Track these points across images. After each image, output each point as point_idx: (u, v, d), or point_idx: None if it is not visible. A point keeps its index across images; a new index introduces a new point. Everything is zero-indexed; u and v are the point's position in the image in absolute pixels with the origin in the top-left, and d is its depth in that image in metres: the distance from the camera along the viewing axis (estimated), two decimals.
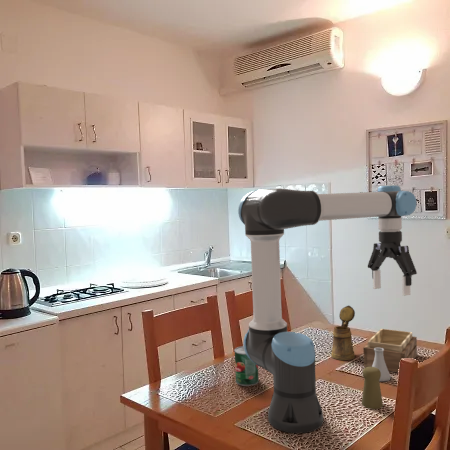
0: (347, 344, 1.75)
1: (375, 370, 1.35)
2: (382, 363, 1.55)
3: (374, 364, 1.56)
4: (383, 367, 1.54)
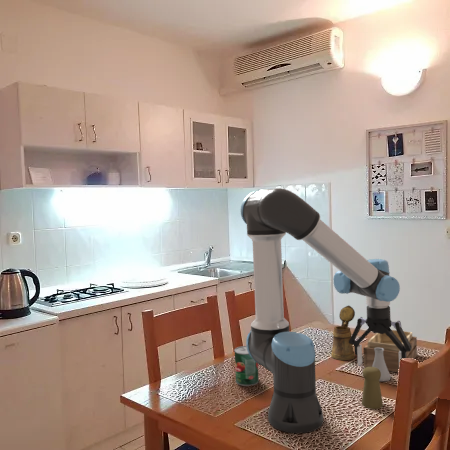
0: (347, 344, 1.75)
1: (375, 370, 1.35)
2: (382, 363, 1.55)
3: (374, 364, 1.56)
4: (383, 367, 1.54)
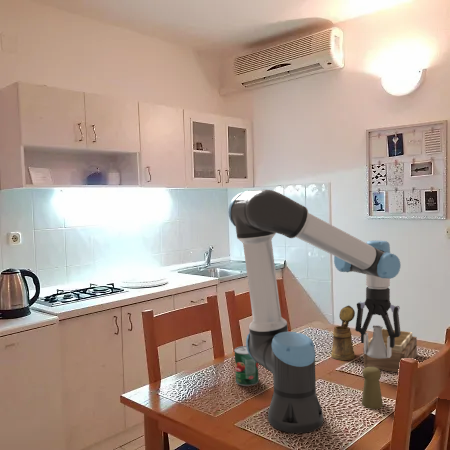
0: (347, 344, 1.75)
1: (375, 370, 1.35)
2: (380, 340, 1.54)
3: (372, 341, 1.55)
4: (381, 344, 1.54)
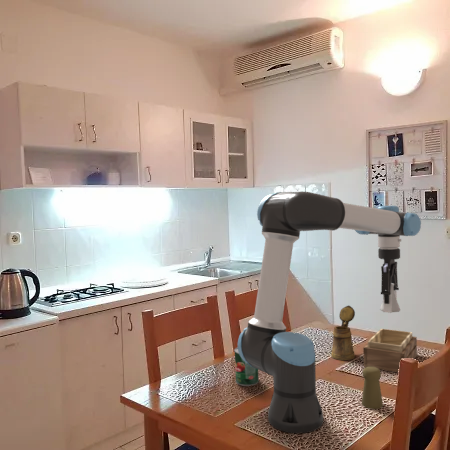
0: (347, 344, 1.75)
1: (375, 370, 1.35)
2: None
3: None
4: None
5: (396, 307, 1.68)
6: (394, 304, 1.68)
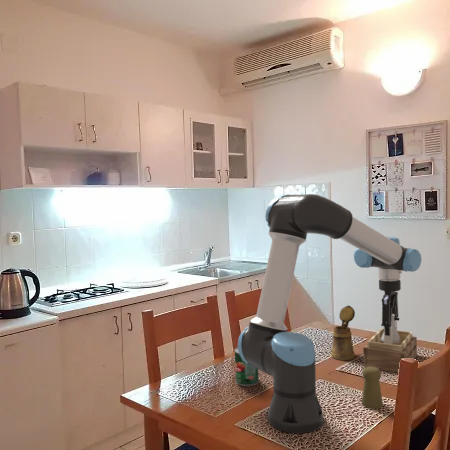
0: (347, 344, 1.75)
1: (375, 370, 1.35)
2: None
3: None
4: None
5: (397, 338, 1.69)
6: (395, 335, 1.69)
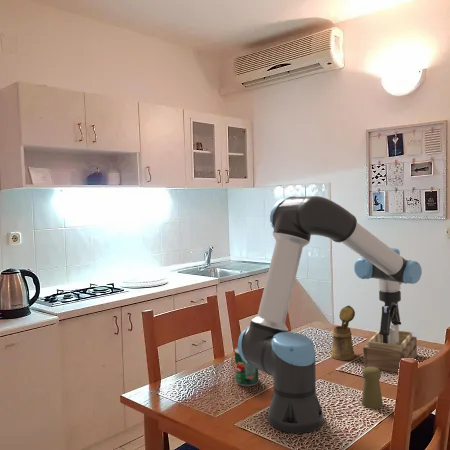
0: (347, 344, 1.75)
1: (375, 370, 1.35)
2: None
3: None
4: None
5: None
6: None
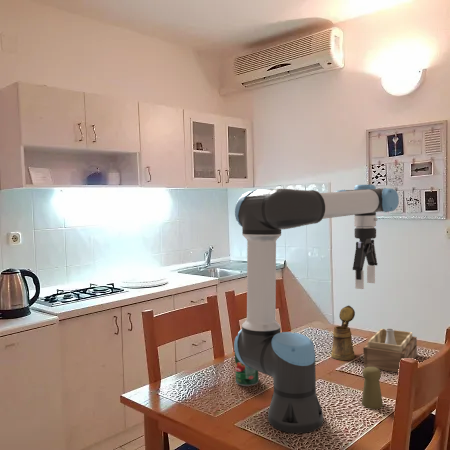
0: (347, 344, 1.75)
1: (375, 370, 1.35)
2: (386, 341, 1.71)
3: None
4: None
5: None
6: None
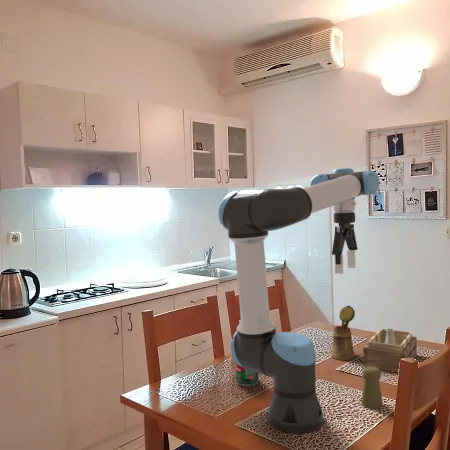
0: (347, 344, 1.75)
1: (375, 370, 1.35)
2: (386, 341, 1.71)
3: None
4: None
5: None
6: None
